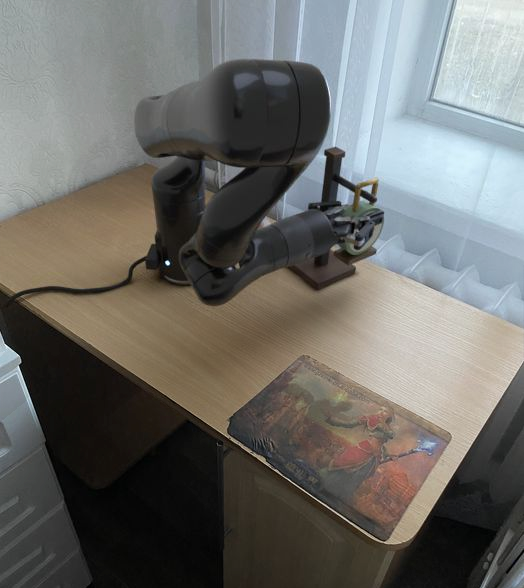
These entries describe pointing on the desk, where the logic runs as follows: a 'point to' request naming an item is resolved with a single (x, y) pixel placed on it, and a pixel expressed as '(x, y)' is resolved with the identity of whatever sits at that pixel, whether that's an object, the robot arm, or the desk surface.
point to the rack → (327, 265)
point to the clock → (359, 209)
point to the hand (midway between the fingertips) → (373, 211)
